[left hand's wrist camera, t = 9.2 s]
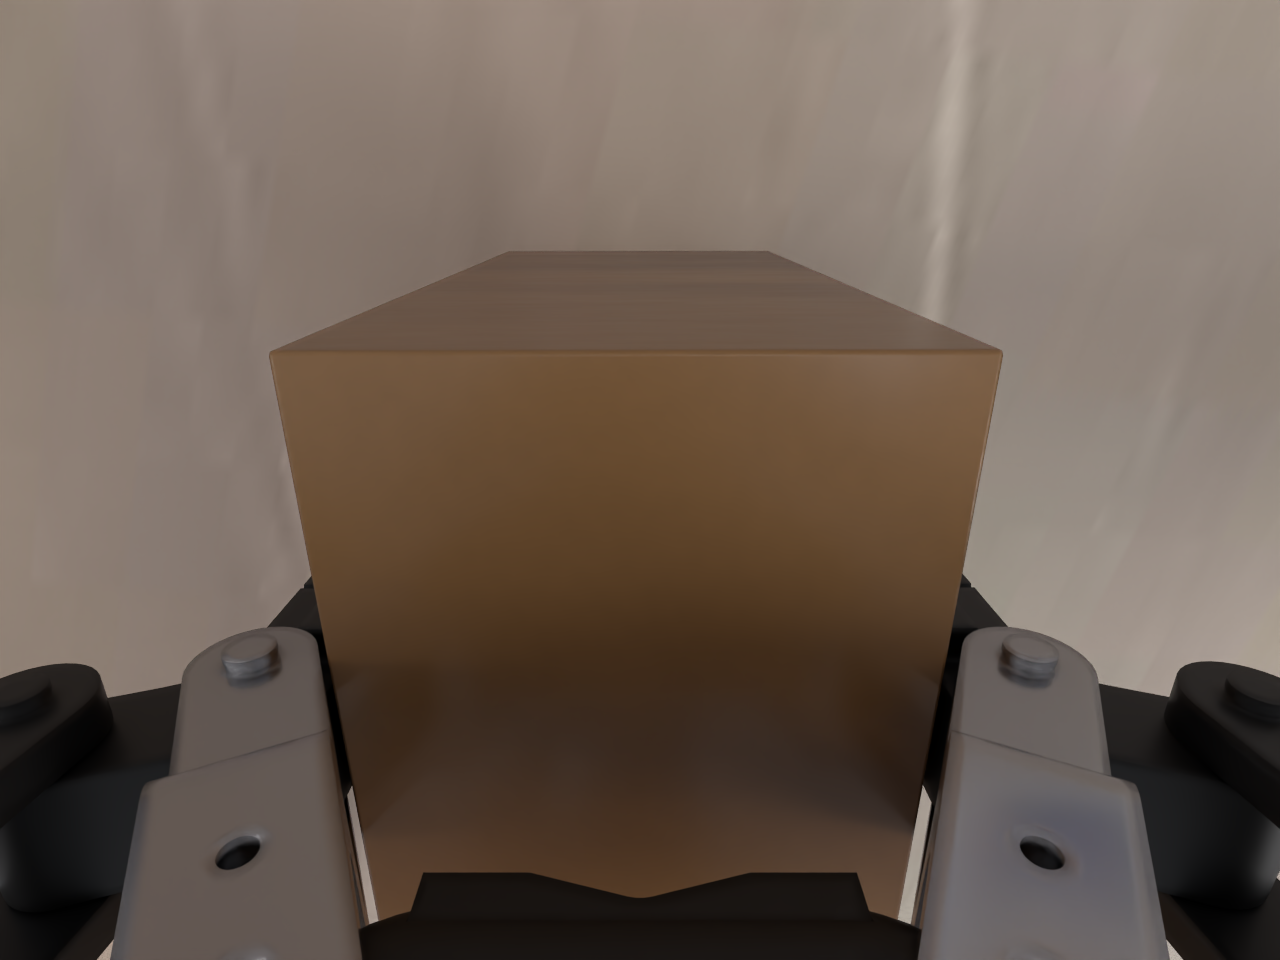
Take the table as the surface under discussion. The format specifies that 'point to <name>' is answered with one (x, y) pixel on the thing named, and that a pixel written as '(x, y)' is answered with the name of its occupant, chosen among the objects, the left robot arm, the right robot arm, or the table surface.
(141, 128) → the table surface
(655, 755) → the box
